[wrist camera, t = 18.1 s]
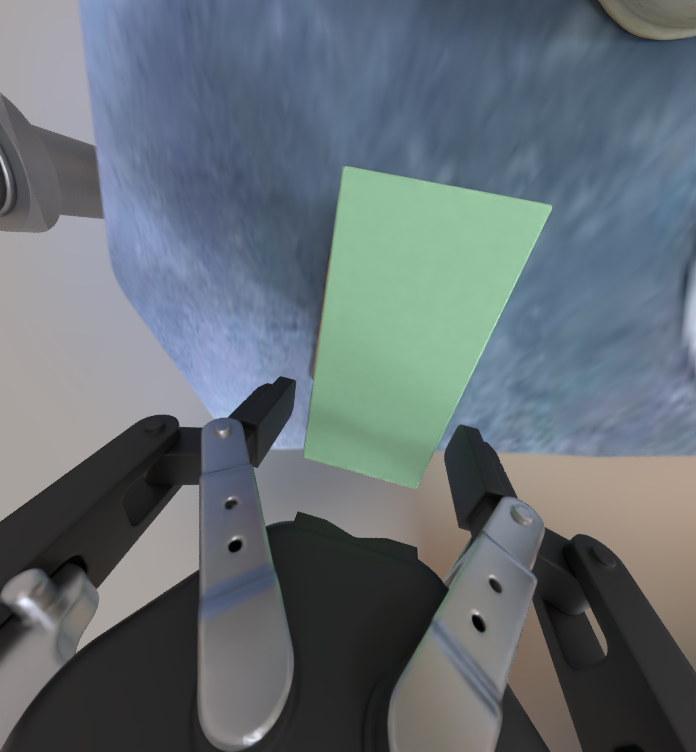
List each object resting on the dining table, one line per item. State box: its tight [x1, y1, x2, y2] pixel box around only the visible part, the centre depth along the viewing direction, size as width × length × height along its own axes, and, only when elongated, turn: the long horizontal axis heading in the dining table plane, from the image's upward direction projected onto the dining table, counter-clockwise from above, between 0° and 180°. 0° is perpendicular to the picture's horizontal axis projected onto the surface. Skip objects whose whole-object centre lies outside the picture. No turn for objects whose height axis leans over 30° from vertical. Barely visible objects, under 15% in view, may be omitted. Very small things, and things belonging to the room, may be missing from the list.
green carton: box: [303, 166, 552, 489], centre depth 14 cm, size 5×14×10 cm
